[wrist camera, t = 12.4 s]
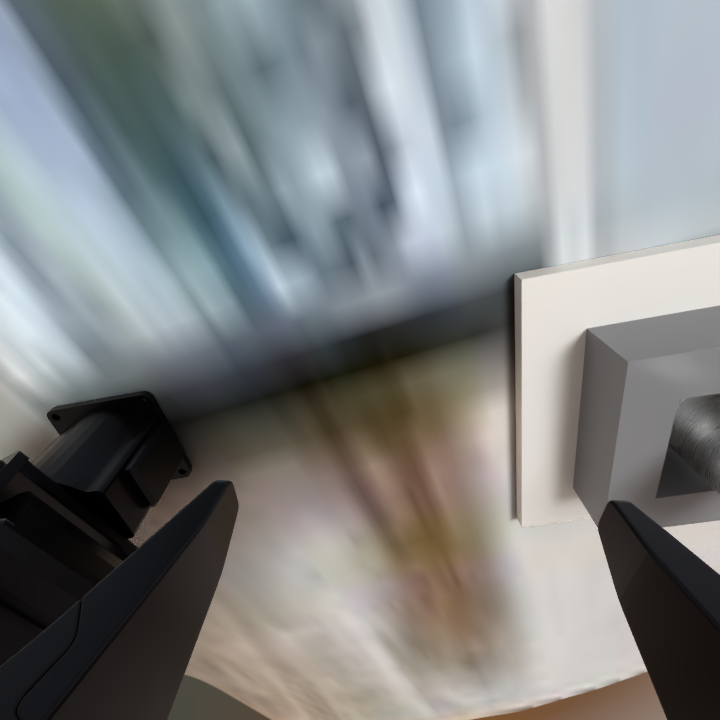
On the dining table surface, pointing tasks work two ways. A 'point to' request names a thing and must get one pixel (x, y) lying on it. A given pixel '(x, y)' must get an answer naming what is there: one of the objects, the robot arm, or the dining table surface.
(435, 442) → the dining table surface
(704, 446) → the grey cylindrical piece
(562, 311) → the mount
